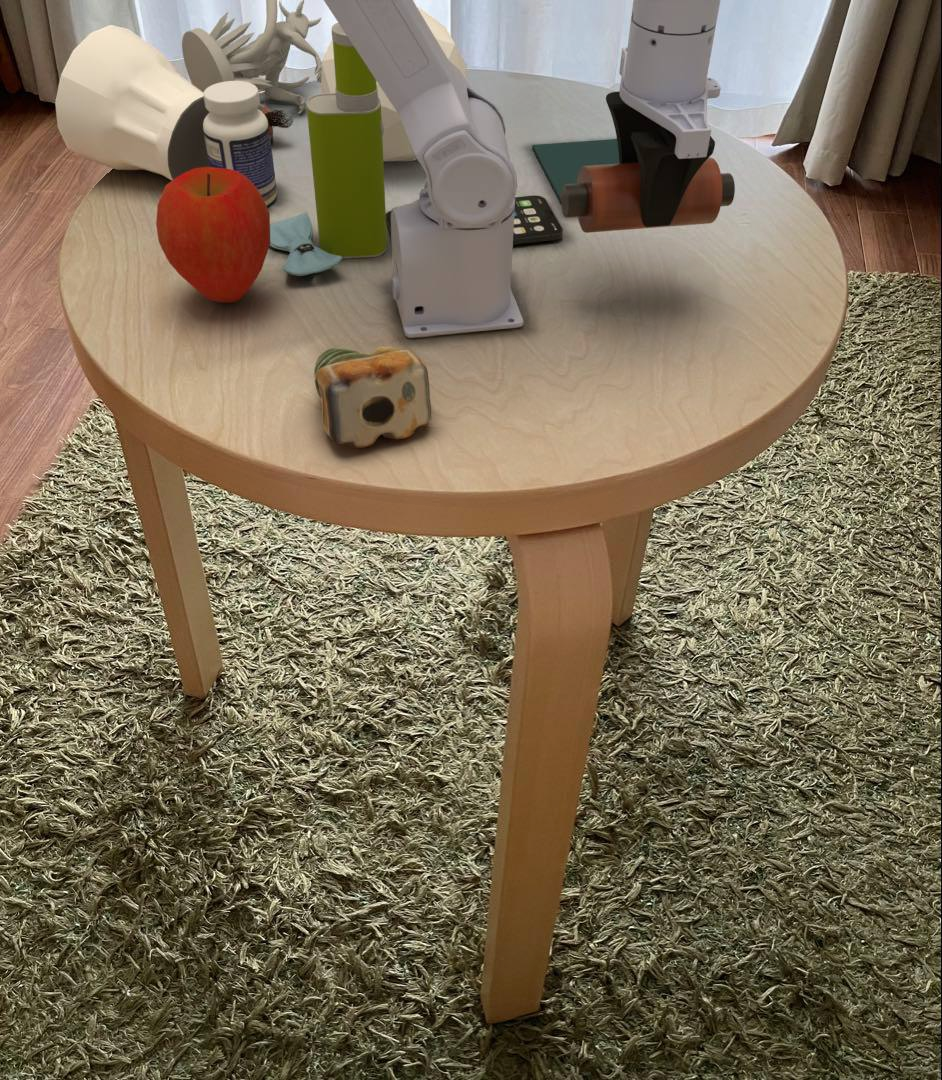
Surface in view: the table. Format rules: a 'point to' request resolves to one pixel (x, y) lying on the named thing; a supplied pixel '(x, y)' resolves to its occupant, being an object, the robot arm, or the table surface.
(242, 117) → the pill bottle
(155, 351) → the table surface
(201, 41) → the demon figurine
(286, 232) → the bow tie
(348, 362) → the ornament
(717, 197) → the rolling pin
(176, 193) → the apple
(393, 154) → the geodesic sphere
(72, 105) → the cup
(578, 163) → the pastry mat
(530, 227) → the smartphone
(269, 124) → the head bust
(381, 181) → the vape
